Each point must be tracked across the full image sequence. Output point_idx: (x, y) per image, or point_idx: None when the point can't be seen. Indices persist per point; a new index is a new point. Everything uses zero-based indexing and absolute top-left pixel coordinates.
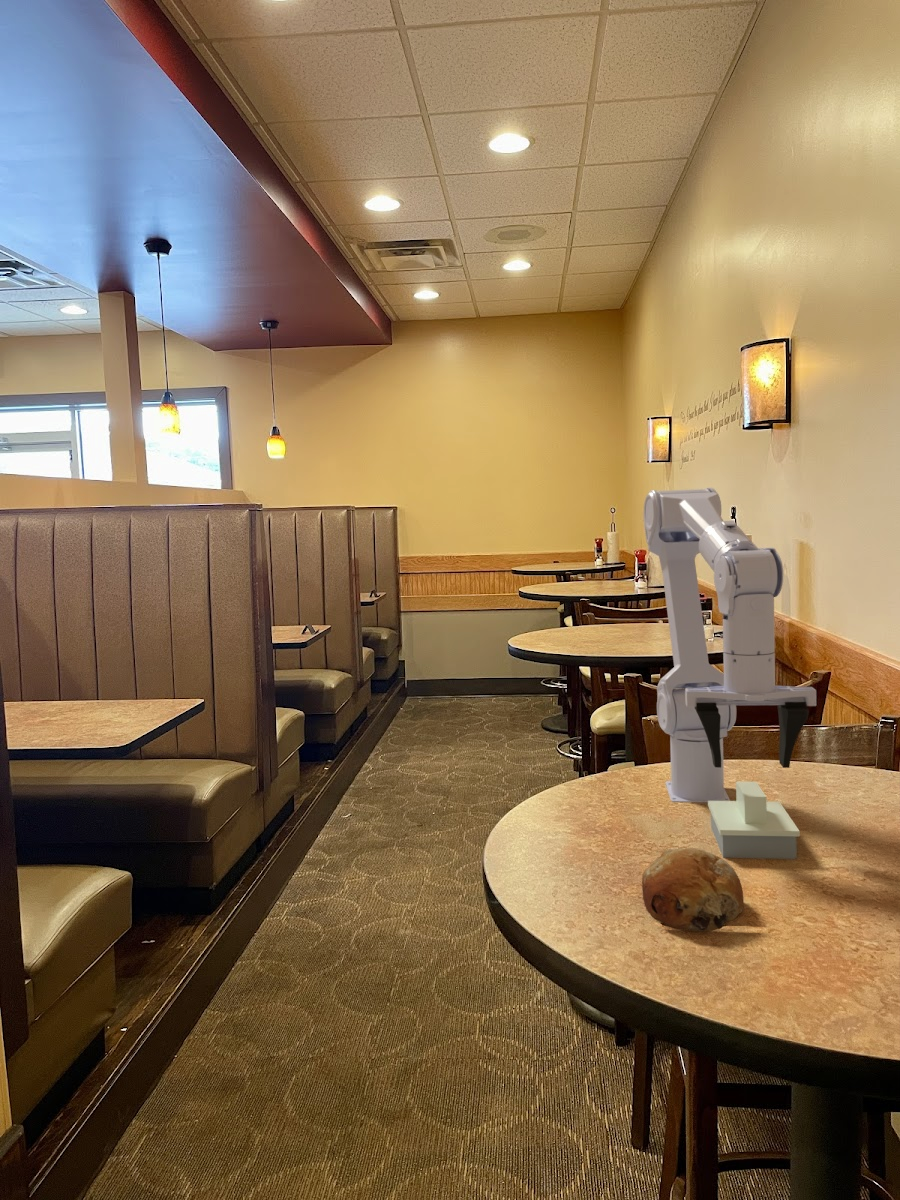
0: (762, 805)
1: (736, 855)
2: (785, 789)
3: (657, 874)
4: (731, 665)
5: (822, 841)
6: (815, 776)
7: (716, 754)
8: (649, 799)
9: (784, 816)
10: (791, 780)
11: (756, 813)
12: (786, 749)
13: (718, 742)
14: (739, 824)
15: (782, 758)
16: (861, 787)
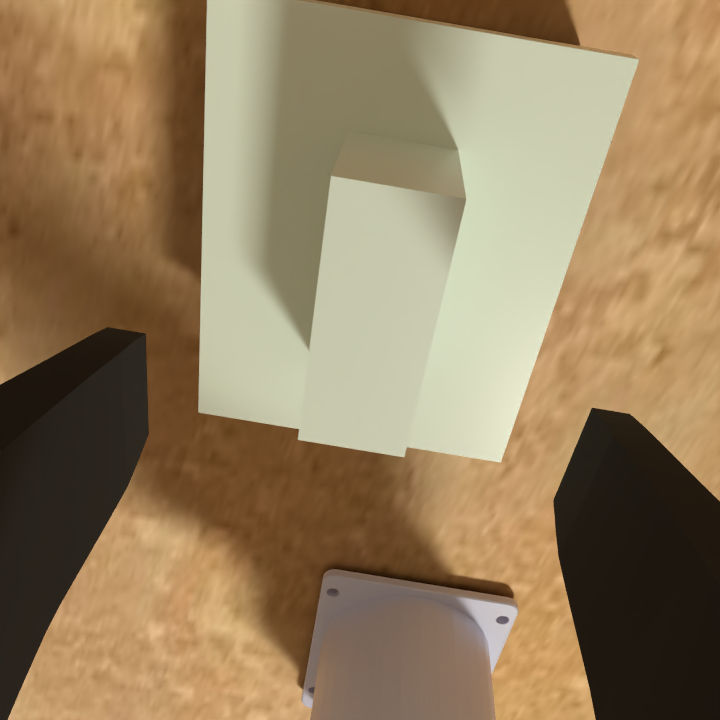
0: (360, 164)
1: None
2: (120, 644)
3: None
4: None
5: (96, 229)
6: (16, 704)
7: (671, 465)
8: (566, 642)
9: (226, 228)
10: (88, 692)
11: (396, 156)
12: (56, 391)
13: (697, 540)
14: (494, 136)
15: (122, 391)
16: None
